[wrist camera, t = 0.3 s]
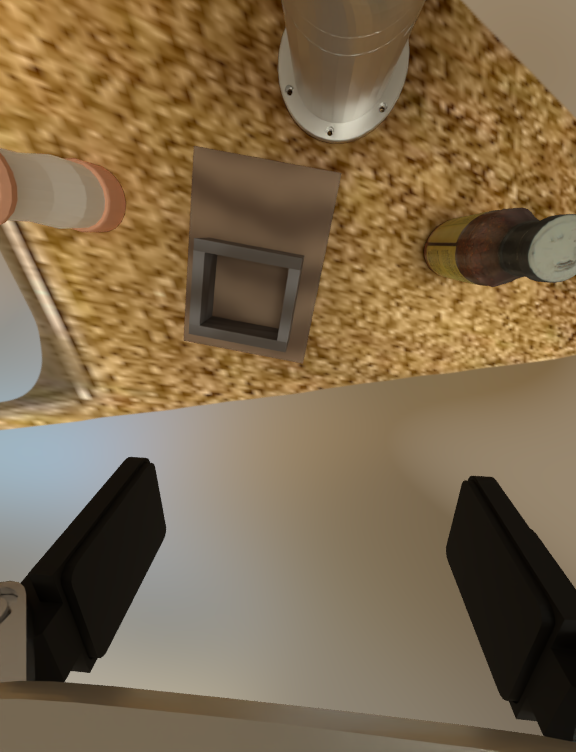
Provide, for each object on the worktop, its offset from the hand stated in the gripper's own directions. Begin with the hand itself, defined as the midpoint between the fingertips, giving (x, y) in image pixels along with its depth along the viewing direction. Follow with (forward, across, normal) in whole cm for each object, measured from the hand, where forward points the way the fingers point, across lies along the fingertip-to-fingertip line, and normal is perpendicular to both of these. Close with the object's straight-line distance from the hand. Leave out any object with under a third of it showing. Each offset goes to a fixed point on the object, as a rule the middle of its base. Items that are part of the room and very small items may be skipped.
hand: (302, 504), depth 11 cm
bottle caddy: (+36, +8, -4) cm, 36 cm away
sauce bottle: (+36, -15, -6) cm, 39 cm away
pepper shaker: (+36, +26, -11) cm, 46 cm away
